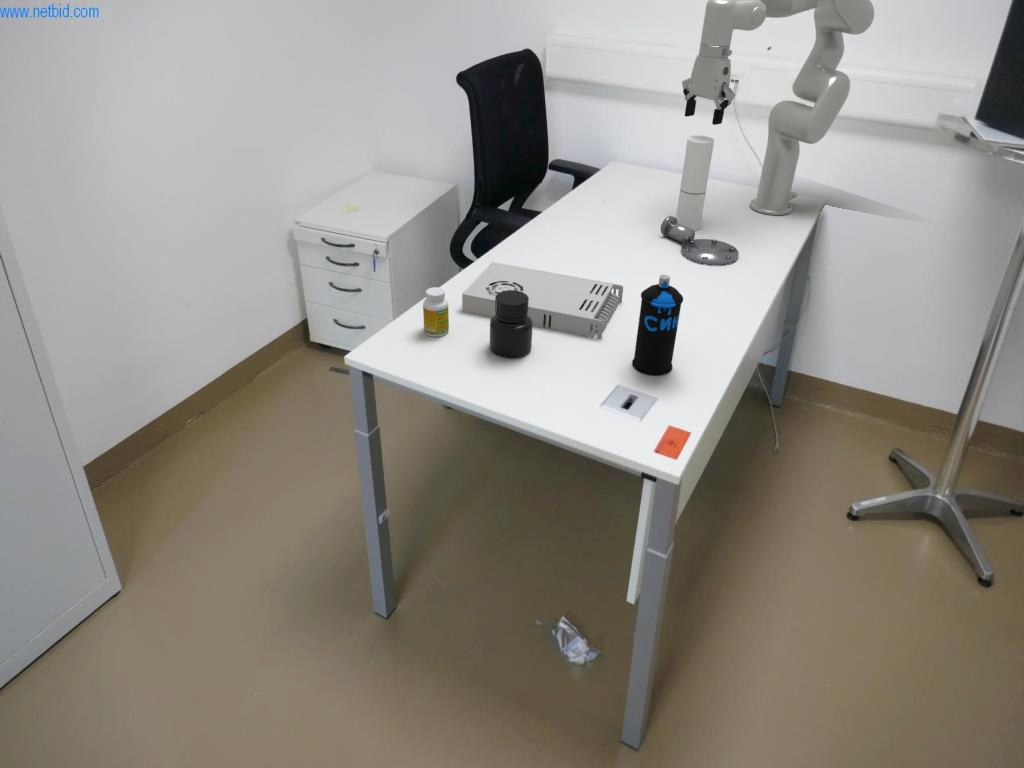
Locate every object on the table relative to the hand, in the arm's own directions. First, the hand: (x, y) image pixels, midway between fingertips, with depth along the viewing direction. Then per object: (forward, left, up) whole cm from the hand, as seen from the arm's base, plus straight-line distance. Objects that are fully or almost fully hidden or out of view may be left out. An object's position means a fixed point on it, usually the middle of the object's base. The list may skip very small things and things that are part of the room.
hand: (702, 119), depth 210 cm
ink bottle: (+84, +27, -30) cm, 93 cm away
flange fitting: (+10, +13, -30) cm, 34 cm away
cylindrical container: (0, 0, -30) cm, 30 cm away
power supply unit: (+66, +16, -31) cm, 74 cm away
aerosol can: (+64, +49, -30) cm, 86 cm away
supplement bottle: (+93, +12, -30) cm, 98 cm away
